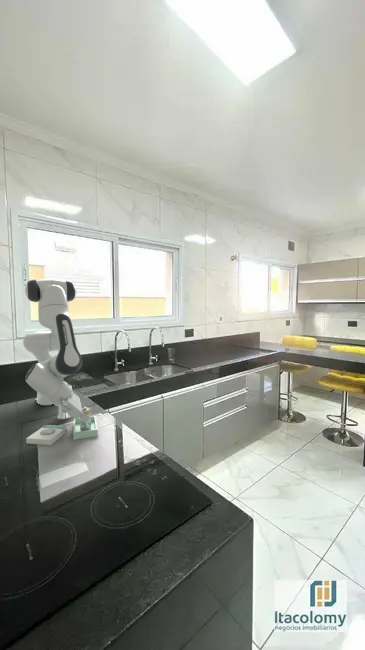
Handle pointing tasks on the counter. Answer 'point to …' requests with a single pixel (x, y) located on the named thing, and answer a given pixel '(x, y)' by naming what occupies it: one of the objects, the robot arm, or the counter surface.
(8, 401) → the counter surface
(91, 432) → the trough
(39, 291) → the robot arm
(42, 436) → the white flat block
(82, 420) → the cell
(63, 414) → the clear plastic bottle
